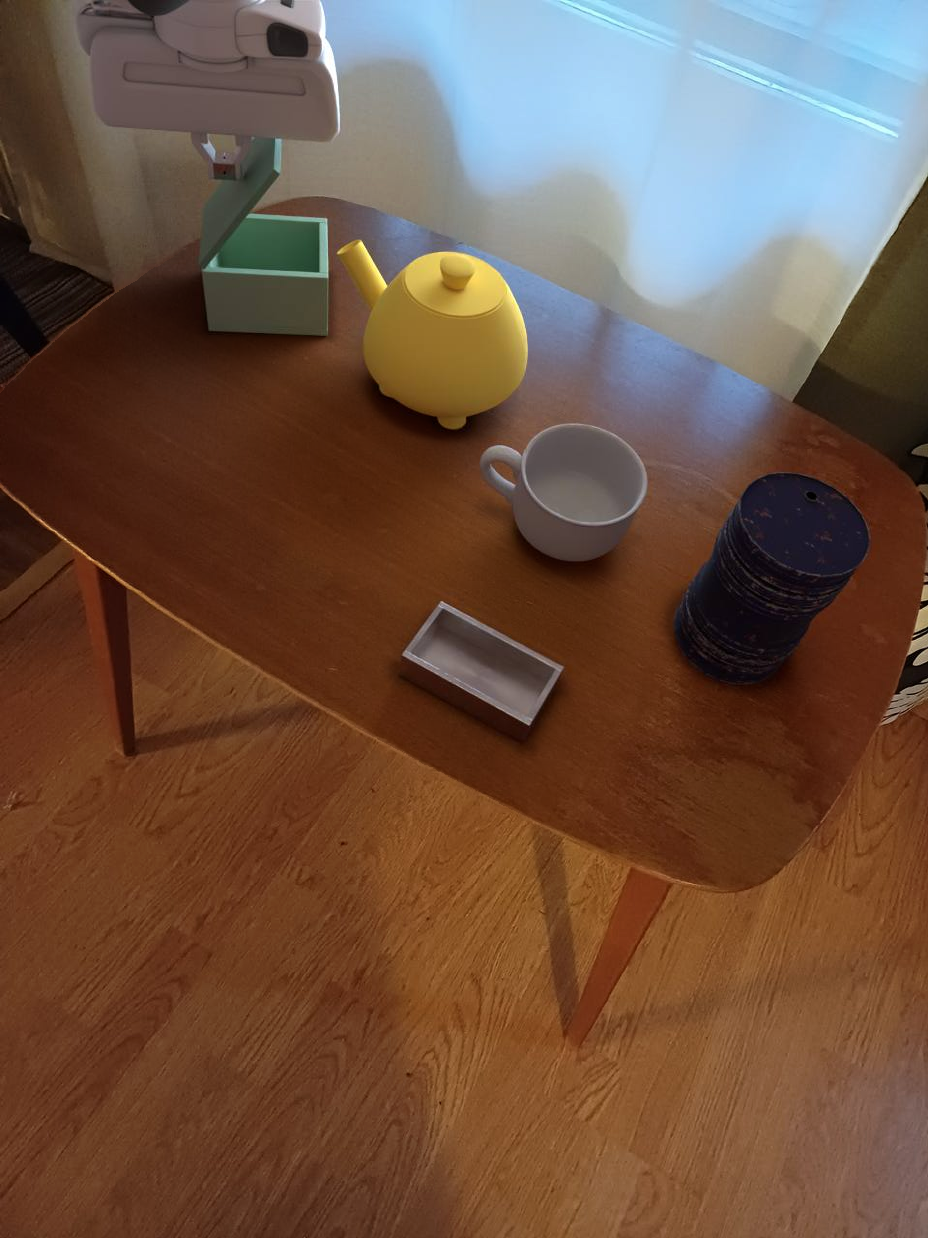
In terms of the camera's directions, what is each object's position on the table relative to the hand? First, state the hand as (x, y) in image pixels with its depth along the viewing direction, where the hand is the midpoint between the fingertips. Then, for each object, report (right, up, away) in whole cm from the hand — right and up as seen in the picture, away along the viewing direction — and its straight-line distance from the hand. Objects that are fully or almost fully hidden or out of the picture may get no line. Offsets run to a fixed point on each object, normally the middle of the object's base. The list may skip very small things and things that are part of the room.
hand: (226, 176), depth 83 cm
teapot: (+17, -16, +8) cm, 25 cm away
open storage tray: (+23, -45, -11) cm, 51 cm away
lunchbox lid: (+1, -1, +1) cm, 2 cm away
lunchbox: (+2, -8, +11) cm, 14 cm away
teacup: (+29, -32, 0) cm, 43 cm away
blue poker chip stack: (+44, -41, -5) cm, 61 cm away
